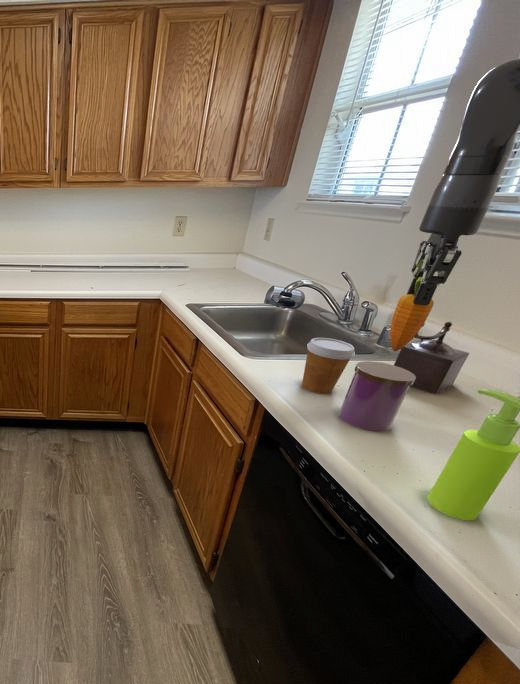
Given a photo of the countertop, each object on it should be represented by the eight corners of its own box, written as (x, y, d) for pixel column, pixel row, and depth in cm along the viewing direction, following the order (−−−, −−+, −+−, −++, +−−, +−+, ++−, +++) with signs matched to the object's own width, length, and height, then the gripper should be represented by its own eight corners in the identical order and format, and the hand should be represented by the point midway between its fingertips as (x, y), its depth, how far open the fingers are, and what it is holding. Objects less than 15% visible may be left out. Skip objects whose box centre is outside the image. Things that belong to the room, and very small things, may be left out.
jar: (386, 417, 92) (409, 367, 87) (395, 438, 85) (421, 385, 79) (334, 406, 96) (353, 357, 91) (339, 425, 89) (359, 374, 84)
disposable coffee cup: (298, 376, 110) (312, 334, 105) (341, 388, 105) (358, 343, 99) (290, 389, 104) (305, 344, 99) (336, 401, 98) (354, 355, 93)
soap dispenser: (439, 489, 71) (499, 385, 62) (486, 519, 65) (560, 408, 56) (410, 492, 70) (467, 387, 61) (456, 523, 64) (526, 411, 55)
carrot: (381, 344, 86) (411, 272, 80) (412, 351, 83) (447, 276, 76) (376, 350, 83) (407, 275, 77) (408, 358, 80) (443, 280, 73)
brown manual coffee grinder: (401, 370, 115) (429, 306, 107) (453, 386, 106) (488, 318, 98) (373, 382, 108) (402, 315, 100) (427, 400, 99) (462, 329, 91)
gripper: (506, 207, 64) (455, 314, 71) (472, 203, 75) (431, 295, 83) (442, 205, 67) (399, 307, 75) (419, 201, 79) (384, 290, 86)
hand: (416, 300), depth 79 cm, fingers closed on carrot, 4 cm apart
